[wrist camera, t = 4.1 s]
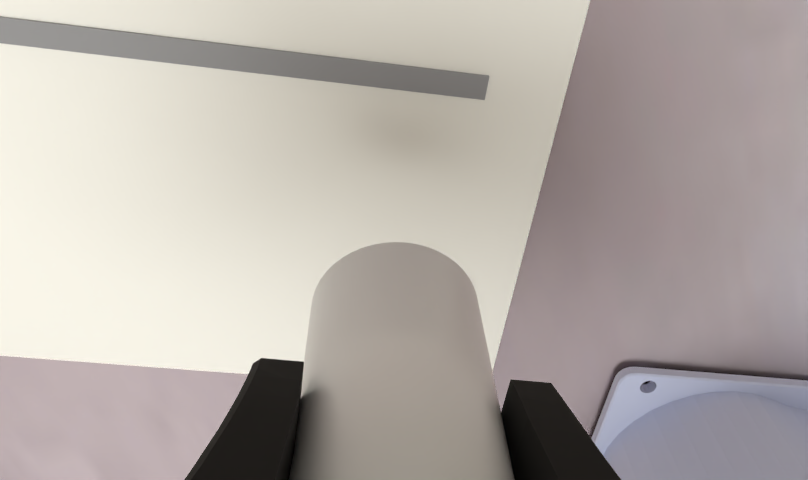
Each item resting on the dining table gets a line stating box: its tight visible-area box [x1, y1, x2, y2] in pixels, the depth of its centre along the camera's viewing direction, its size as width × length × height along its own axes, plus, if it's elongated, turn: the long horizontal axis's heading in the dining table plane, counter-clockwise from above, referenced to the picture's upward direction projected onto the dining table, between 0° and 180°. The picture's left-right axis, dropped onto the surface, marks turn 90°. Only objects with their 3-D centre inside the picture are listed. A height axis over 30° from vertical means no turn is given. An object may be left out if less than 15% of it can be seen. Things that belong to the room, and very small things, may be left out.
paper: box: [0, 0, 590, 374], centre depth 19 cm, size 16×13×1 cm
